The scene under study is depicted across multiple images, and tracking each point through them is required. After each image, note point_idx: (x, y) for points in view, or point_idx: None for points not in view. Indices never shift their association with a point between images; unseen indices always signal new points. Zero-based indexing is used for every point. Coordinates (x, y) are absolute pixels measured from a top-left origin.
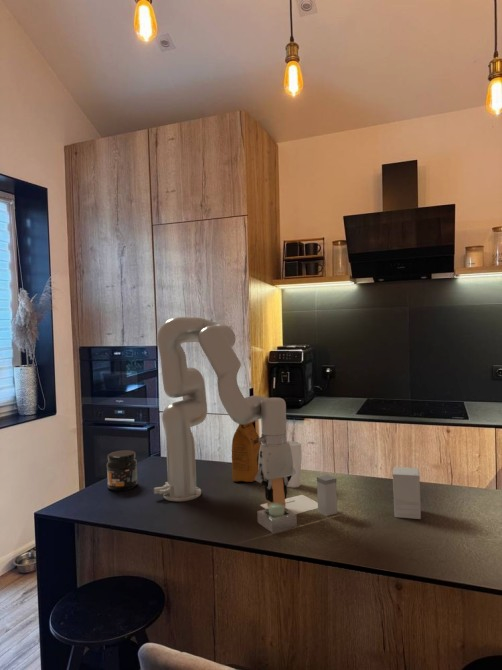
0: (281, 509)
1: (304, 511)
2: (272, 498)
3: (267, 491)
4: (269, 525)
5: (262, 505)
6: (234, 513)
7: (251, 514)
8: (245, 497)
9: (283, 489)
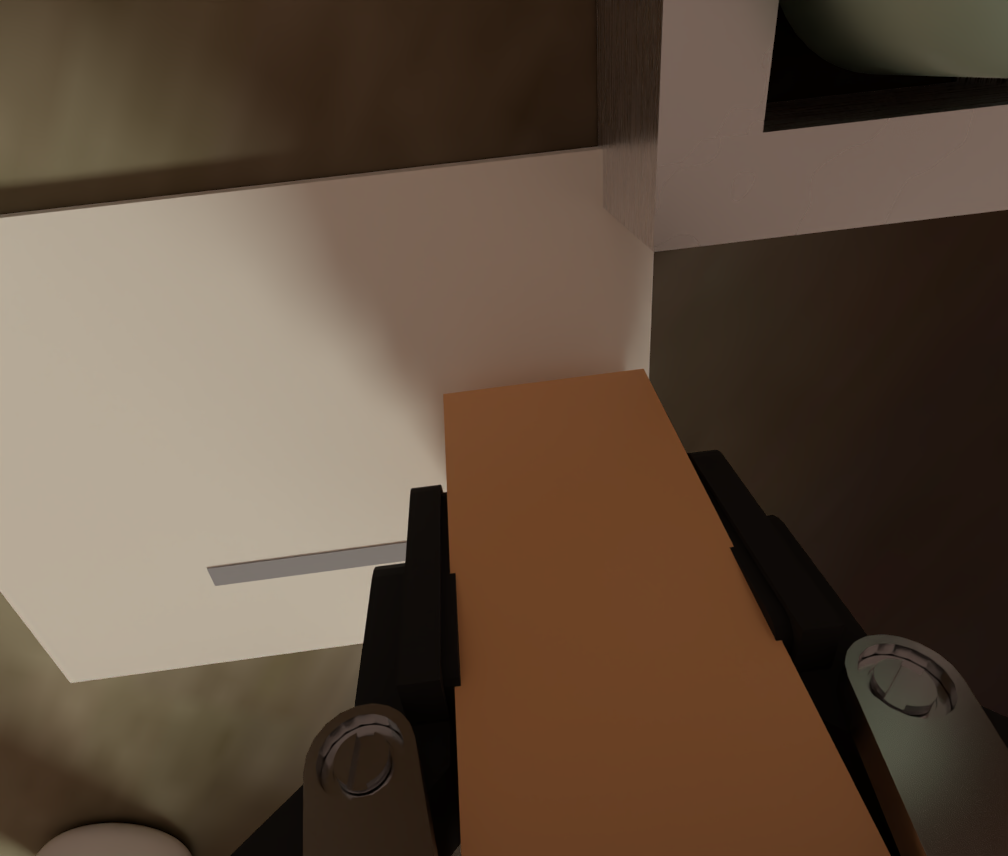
0: None
1: (180, 194)
2: (719, 483)
3: (842, 620)
4: None
5: None
6: (951, 532)
7: (844, 449)
8: None
9: (467, 621)
